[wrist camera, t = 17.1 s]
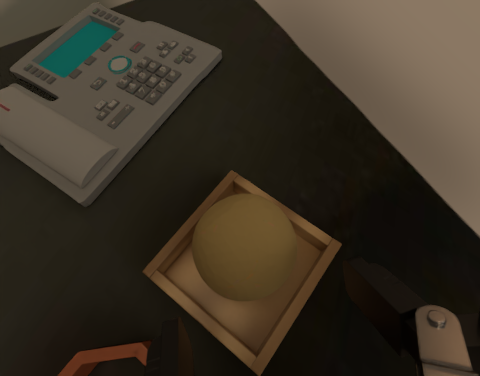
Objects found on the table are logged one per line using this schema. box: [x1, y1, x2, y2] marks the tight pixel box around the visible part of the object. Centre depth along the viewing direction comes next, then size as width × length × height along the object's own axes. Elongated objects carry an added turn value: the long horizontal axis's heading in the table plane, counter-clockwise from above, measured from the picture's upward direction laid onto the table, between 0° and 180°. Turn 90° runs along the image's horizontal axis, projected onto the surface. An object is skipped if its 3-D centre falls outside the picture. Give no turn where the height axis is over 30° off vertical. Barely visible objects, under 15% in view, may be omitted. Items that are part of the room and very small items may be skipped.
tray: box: [143, 170, 342, 376], centre depth 23 cm, size 11×11×3 cm
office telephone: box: [0, 2, 222, 207], centre depth 32 cm, size 23×3×20 cm
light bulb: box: [192, 194, 298, 301], centre depth 19 cm, size 6×6×10 cm
